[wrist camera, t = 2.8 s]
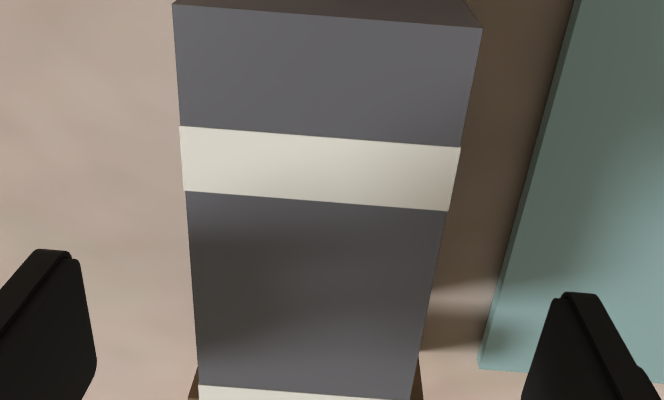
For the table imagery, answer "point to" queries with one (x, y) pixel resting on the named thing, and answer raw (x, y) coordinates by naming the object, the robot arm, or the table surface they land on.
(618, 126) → the rubber mat
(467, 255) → the table surface
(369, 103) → the banded grey block
